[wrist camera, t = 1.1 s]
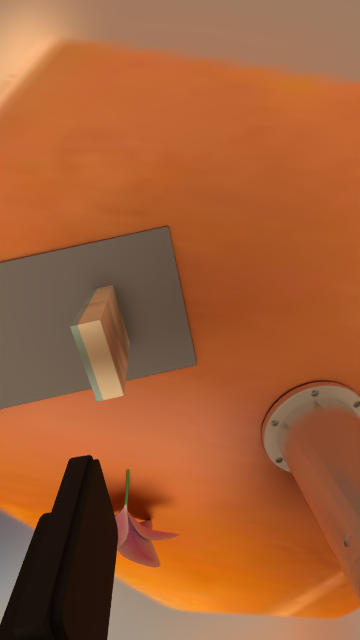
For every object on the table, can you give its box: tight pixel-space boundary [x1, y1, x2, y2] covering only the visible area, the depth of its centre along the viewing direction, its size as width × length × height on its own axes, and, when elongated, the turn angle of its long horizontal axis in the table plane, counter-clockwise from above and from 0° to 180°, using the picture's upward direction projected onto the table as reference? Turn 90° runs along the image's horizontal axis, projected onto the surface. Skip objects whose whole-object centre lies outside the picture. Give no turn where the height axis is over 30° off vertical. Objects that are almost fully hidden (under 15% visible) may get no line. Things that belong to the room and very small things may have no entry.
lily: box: [115, 470, 180, 567], centre depth 37 cm, size 12×12×10 cm
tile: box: [70, 285, 130, 402], centre depth 27 cm, size 6×2×9 cm, turn 11°
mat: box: [0, 226, 197, 409], centre depth 31 cm, size 14×22×1 cm, turn 101°
